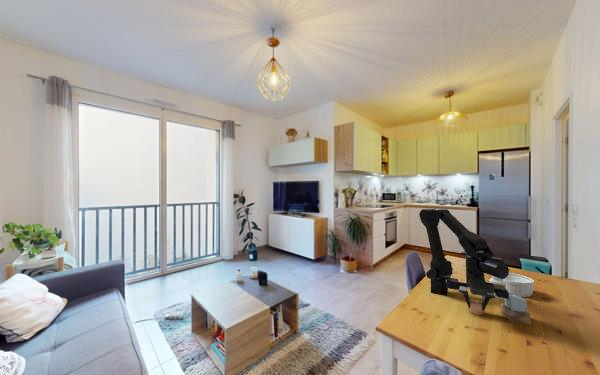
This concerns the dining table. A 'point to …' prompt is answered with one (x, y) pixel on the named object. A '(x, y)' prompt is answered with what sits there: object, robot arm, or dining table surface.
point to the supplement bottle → (497, 283)
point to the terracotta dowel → (476, 307)
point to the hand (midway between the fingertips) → (475, 309)
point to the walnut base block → (515, 315)
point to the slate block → (516, 303)
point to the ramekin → (519, 285)
